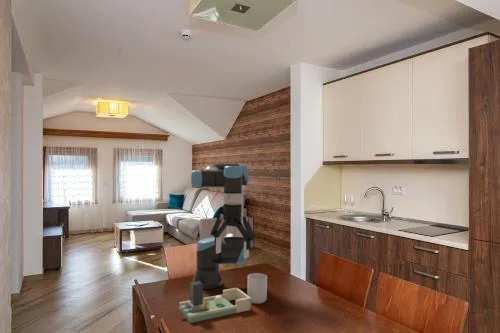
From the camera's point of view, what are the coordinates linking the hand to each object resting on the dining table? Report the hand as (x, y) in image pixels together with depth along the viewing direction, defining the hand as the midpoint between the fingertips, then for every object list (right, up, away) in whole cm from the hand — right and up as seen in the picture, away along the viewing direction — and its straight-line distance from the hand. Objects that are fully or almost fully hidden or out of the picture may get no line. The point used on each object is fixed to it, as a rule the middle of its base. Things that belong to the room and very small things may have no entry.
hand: (232, 255), depth 138 cm
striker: (-16, -22, -1) cm, 27 cm away
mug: (+11, -25, +16) cm, 31 cm away
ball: (-6, -20, +5) cm, 22 cm away
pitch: (-7, -24, +4) cm, 26 cm away
